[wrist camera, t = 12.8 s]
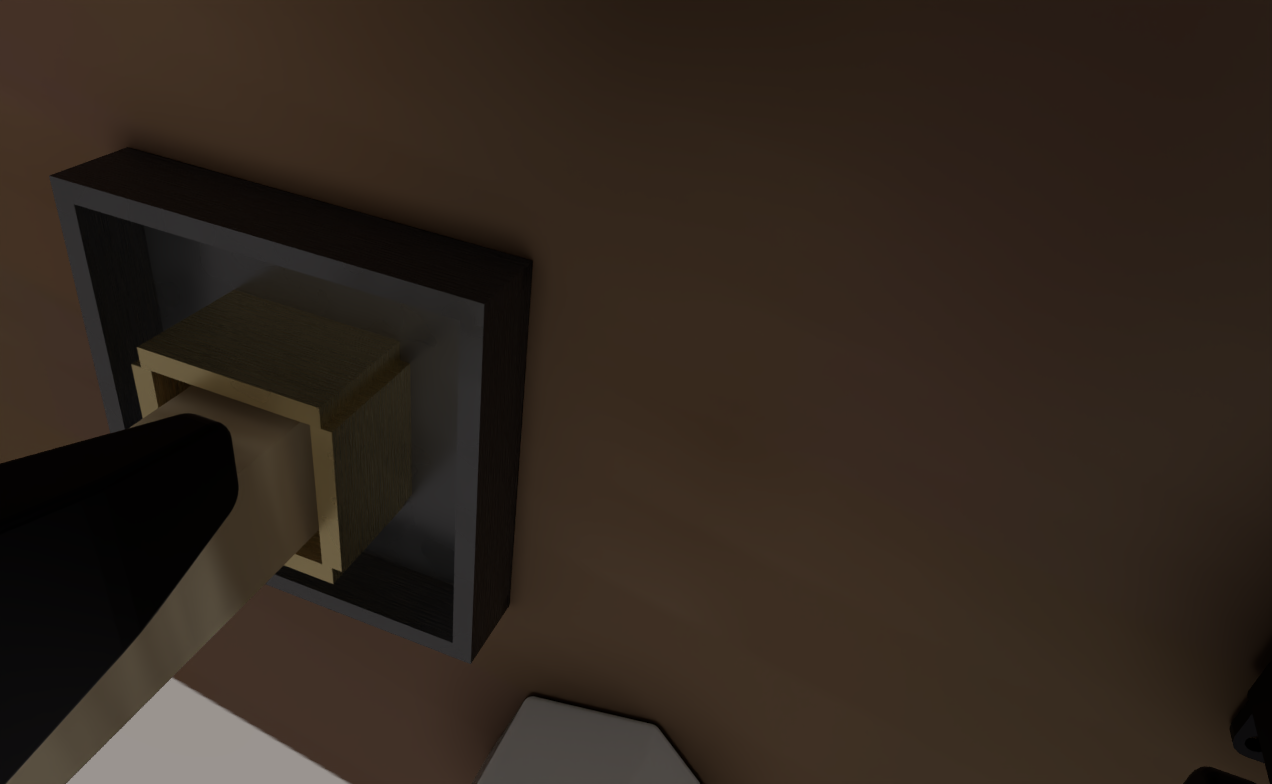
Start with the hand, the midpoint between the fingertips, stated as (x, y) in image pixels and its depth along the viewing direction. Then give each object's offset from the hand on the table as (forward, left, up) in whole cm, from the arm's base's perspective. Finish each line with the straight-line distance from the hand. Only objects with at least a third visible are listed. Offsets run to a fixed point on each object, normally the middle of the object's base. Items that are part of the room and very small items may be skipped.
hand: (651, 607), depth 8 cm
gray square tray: (+13, +10, -13) cm, 21 cm away
